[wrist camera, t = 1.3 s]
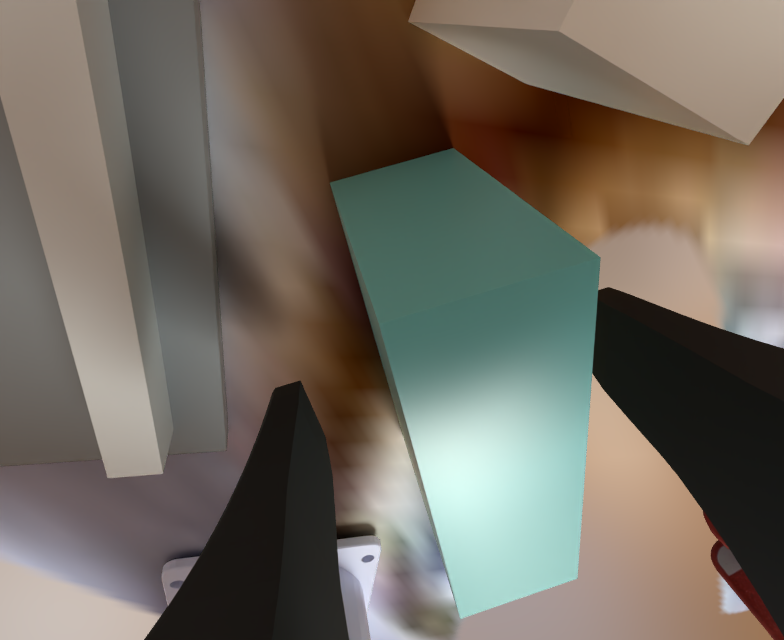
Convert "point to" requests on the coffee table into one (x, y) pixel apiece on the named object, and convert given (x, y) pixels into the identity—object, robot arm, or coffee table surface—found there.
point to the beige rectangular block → (632, 54)
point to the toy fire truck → (741, 583)
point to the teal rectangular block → (481, 364)
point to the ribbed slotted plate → (107, 237)
